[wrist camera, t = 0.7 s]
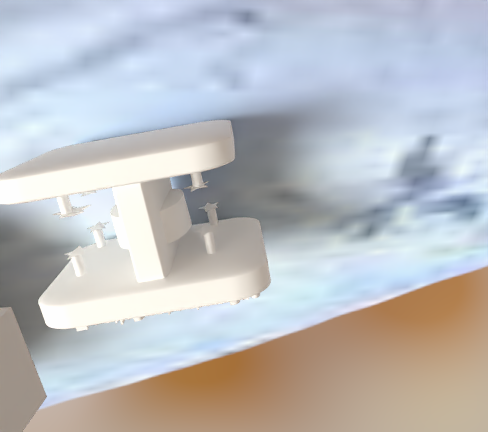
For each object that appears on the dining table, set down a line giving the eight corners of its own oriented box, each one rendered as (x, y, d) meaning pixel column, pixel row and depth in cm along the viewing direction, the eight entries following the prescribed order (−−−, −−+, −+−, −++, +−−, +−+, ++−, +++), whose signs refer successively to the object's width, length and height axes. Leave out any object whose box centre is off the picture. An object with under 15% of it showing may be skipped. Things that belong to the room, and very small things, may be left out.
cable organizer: (240, 112, 35) (246, 132, 24) (261, 236, 38) (275, 305, 27) (53, 145, 35) (-27, 181, 24) (90, 266, 39) (35, 345, 27)
